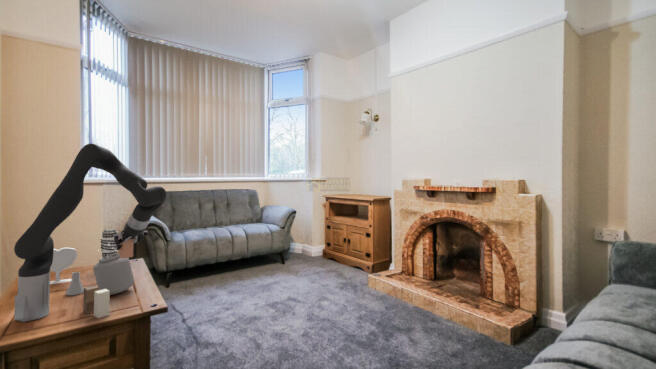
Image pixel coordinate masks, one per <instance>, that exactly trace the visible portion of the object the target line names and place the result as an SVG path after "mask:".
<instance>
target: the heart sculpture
mask: <svg viewBox="0 0 656 369" xmlns="http://www.w3.org/2000/svg"><path fill="white" fill-rule="evenodd" d="M77 256H78V252H77V249H76V248H74V247H66V246H65V247H61V248H60V249H56V248H54V251H53V262H52V265H51V267H50V272H53V273H55V280H50V285H54V284H55V285H56V284H62V283H69V282H71V280H72V278H66V279H61V272H63V271H64V270H66V269H67V268H69V267H70V266H71V265H73V264H74V262H76V260H77Z"/></svg>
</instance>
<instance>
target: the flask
mask: <svg viewBox="0 0 656 369" xmlns="http://www.w3.org/2000/svg"><path fill="white" fill-rule="evenodd" d="M70 274H71V279H72V280H71V281H70V283H69V286H67V287H68V288H67V290H66V291H65V293H64V294H65V295H66V296H78V295H82V294H84V288H85V287H84V286H83V283H82V281H81V277H80V275H81V272H80V271H75V272H72V273H70Z"/></svg>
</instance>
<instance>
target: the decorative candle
mask: <svg viewBox="0 0 656 369" xmlns="http://www.w3.org/2000/svg"><path fill="white" fill-rule="evenodd" d="M115 232H116V233H119V232H118V230H117V229H116V228H107V229H104V230H103V231H101V233H102V234H101V238H100V249H101V250H100V251H101V257H100V258H102V257H105V256H108V255H111V254H116V253H118V252H119V250H118V249H117V247H116V244H115V241H114V237H113V233H115ZM108 244H109V245H108ZM104 249H105V250H104ZM114 249H115V250H116V251H115V250H114Z"/></svg>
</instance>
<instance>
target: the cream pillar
mask: <svg viewBox="0 0 656 369" xmlns="http://www.w3.org/2000/svg"><path fill="white" fill-rule="evenodd" d="M110 296H111V295H110V291H109V290H107V289H102V290H98V291H94V312H93V316H94V318H96V319H100V318H103V317H107V316H109V315H110V300H111V299H110Z"/></svg>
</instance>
